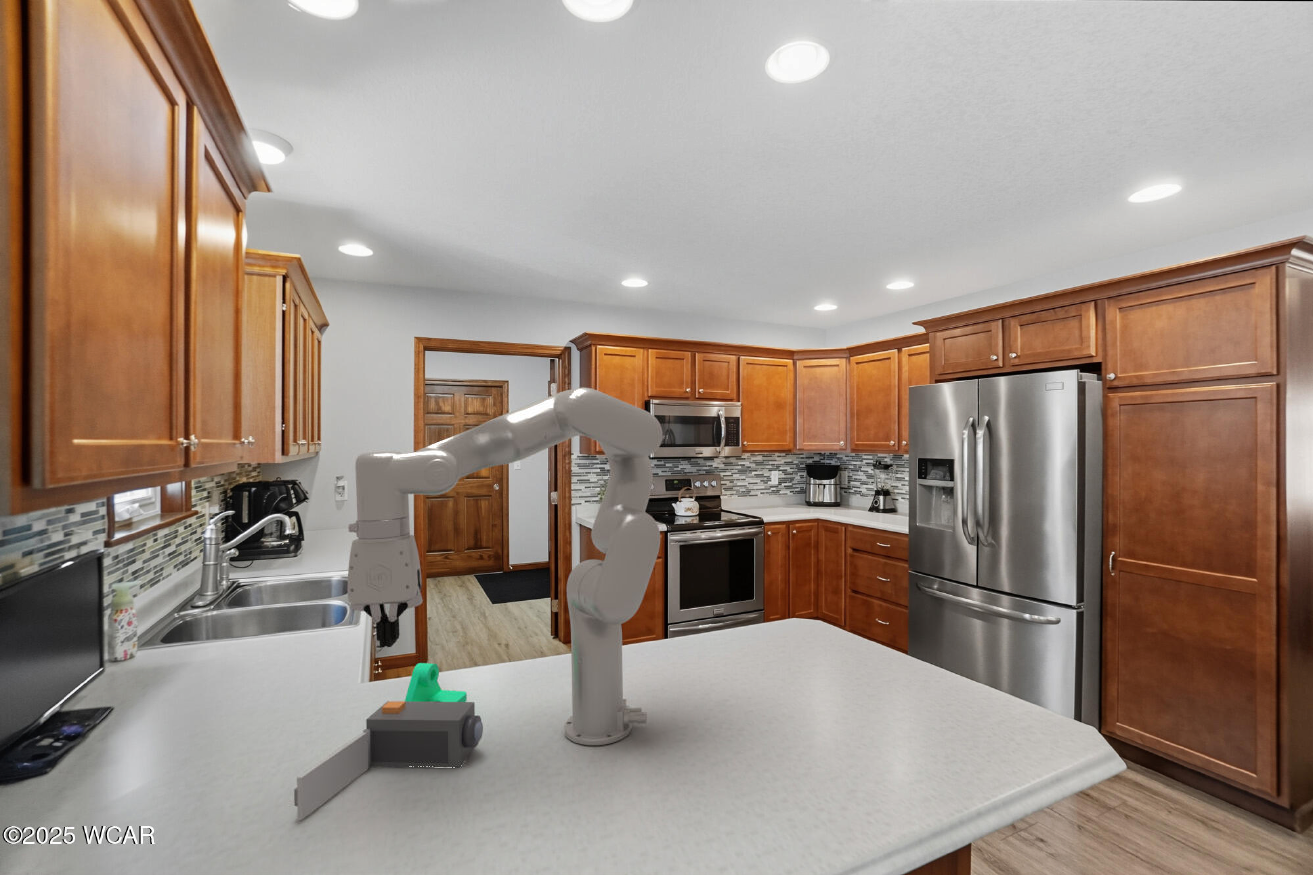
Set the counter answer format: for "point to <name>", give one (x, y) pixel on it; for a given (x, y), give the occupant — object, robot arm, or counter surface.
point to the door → (332, 774)
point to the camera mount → (430, 686)
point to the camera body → (423, 734)
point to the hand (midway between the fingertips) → (388, 644)
